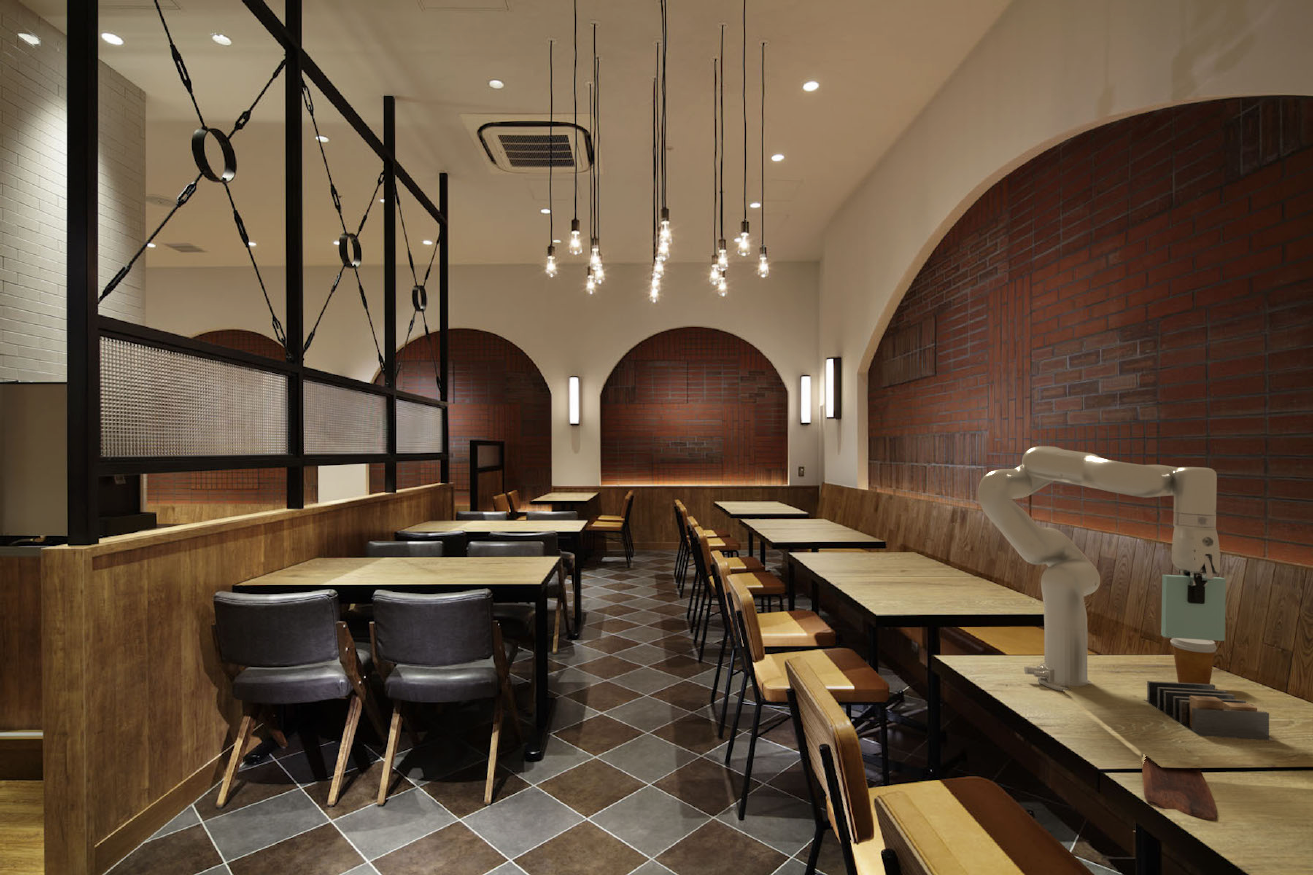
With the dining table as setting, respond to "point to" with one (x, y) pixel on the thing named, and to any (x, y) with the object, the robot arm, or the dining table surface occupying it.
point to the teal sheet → (1193, 610)
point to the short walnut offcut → (1238, 706)
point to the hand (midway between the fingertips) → (1192, 601)
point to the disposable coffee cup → (1193, 659)
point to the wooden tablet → (1178, 790)
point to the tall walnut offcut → (1204, 703)
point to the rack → (1207, 711)
